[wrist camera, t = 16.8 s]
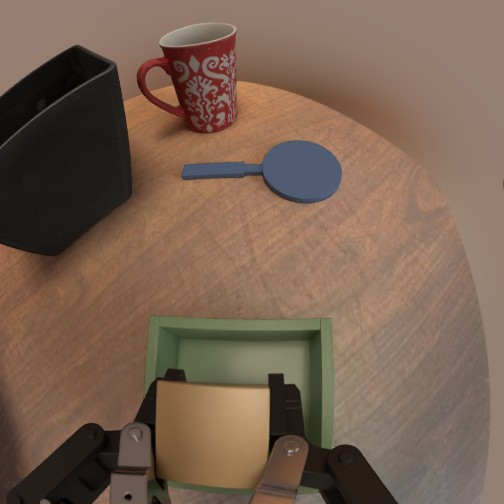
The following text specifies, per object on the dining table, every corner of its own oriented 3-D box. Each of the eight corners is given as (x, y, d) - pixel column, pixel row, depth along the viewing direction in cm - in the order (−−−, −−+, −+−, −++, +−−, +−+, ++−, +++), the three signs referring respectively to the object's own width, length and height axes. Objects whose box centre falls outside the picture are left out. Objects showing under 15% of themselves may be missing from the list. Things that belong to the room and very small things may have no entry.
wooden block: (267, 384, 16) (270, 387, 9) (266, 444, 14) (267, 490, 7) (203, 381, 16) (156, 379, 9) (201, 440, 14) (155, 478, 7)
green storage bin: (317, 331, 23) (331, 317, 18) (316, 470, 18) (329, 491, 13) (173, 329, 24) (149, 314, 19) (168, 463, 18) (143, 480, 13)
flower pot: (114, 128, 37) (75, 41, 22) (171, 191, 30) (119, 60, 15) (22, 202, 32) (-38, 132, 17) (47, 294, 26) (-60, 219, 10)
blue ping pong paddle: (333, 146, 33) (334, 141, 32) (346, 204, 29) (348, 199, 28) (190, 147, 34) (189, 143, 33) (178, 205, 30) (176, 200, 29)
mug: (227, 93, 39) (217, 17, 27) (255, 122, 35) (250, 32, 23) (150, 124, 37) (123, 48, 25) (167, 158, 33) (134, 67, 21)
